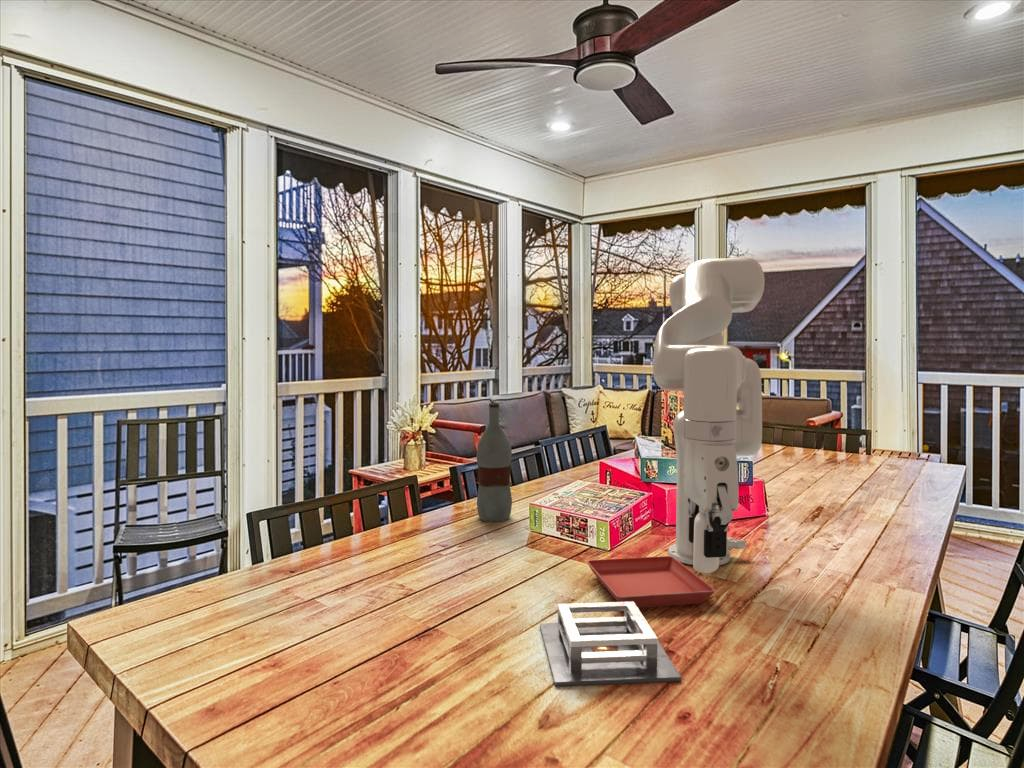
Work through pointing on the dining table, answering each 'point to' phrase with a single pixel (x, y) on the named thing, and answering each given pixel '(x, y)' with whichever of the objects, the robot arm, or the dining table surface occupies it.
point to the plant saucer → (651, 581)
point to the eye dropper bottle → (702, 545)
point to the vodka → (494, 470)
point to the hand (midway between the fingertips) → (706, 547)
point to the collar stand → (605, 647)
